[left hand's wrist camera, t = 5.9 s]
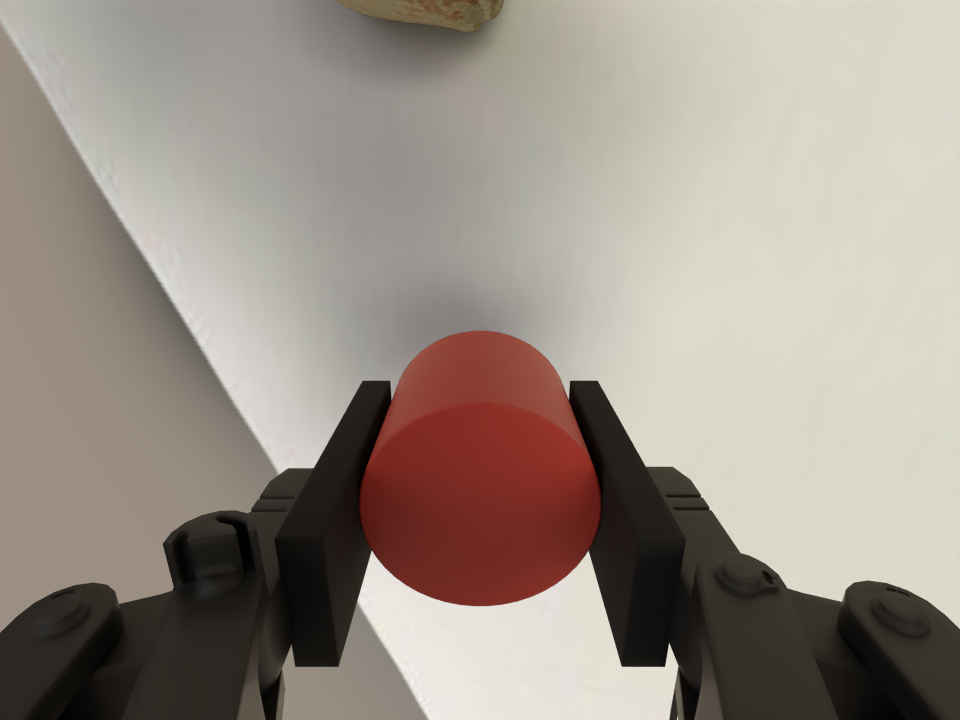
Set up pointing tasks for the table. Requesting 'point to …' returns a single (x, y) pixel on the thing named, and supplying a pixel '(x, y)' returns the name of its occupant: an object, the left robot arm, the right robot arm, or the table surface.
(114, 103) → the table surface
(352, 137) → the table surface
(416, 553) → the canister
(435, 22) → the sculpture
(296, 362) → the table surface
